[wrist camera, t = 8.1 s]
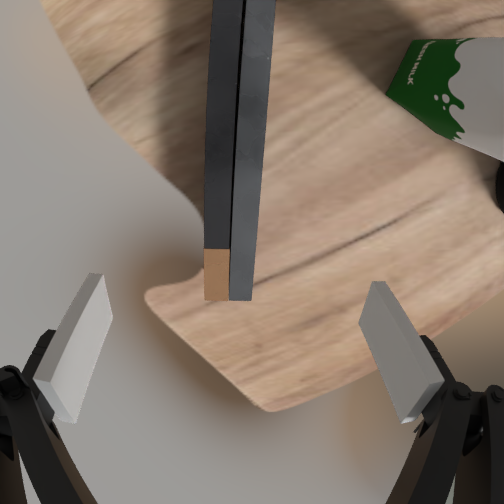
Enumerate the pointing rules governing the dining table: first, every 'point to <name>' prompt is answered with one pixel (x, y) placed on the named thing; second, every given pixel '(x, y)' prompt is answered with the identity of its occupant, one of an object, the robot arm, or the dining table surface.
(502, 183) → the coffee jar
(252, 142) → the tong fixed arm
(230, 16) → the arm
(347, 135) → the dining table surface
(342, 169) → the dining table surface
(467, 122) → the milk carton
